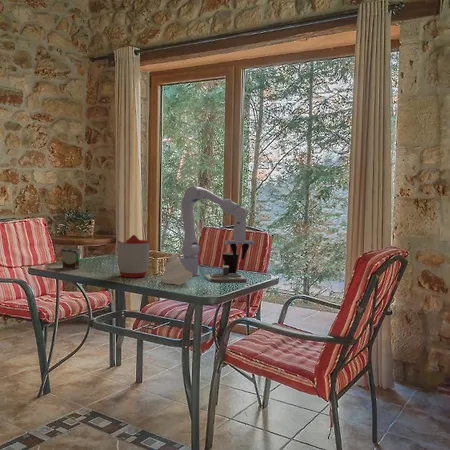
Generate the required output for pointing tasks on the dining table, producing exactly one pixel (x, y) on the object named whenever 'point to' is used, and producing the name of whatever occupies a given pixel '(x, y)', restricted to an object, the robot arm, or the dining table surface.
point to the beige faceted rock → (175, 272)
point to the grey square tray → (228, 280)
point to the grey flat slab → (224, 276)
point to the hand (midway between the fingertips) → (239, 259)
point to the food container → (70, 257)
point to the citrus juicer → (133, 257)
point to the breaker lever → (225, 270)
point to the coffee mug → (230, 261)
